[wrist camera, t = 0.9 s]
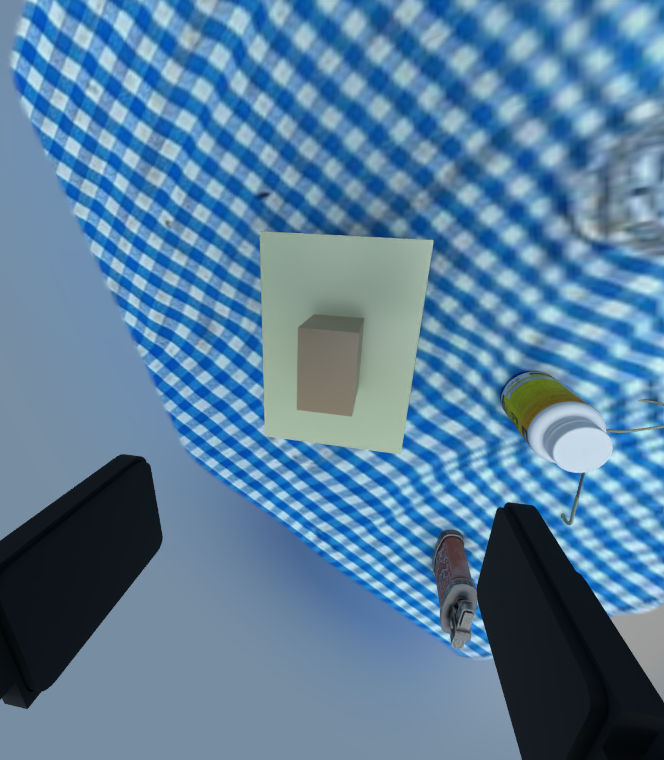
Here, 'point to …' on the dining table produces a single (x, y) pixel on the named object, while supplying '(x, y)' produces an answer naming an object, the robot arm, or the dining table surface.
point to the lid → (340, 336)
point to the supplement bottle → (557, 422)
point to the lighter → (454, 587)
